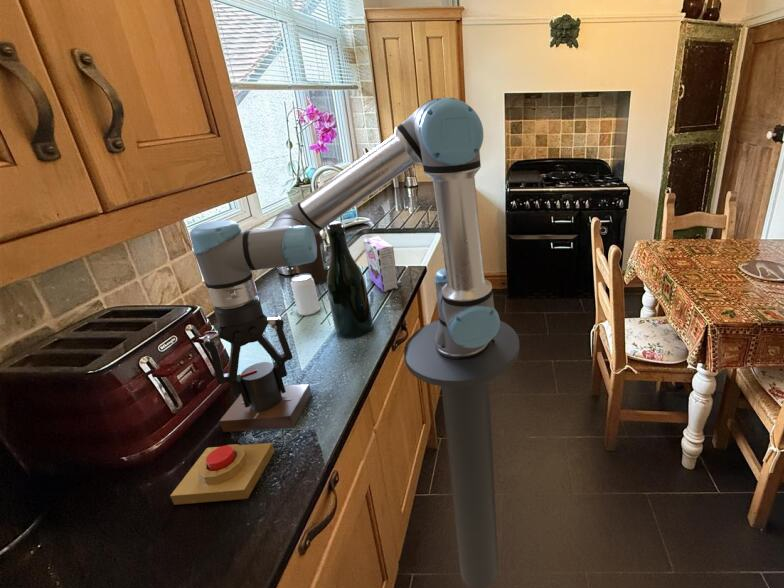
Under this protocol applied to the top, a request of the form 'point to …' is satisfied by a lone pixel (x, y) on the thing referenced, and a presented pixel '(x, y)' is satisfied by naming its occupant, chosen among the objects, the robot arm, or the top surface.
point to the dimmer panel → (268, 412)
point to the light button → (220, 458)
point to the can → (305, 294)
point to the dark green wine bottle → (346, 287)
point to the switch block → (224, 476)
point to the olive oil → (316, 263)
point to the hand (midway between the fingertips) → (265, 396)
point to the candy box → (381, 263)
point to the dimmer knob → (261, 386)
